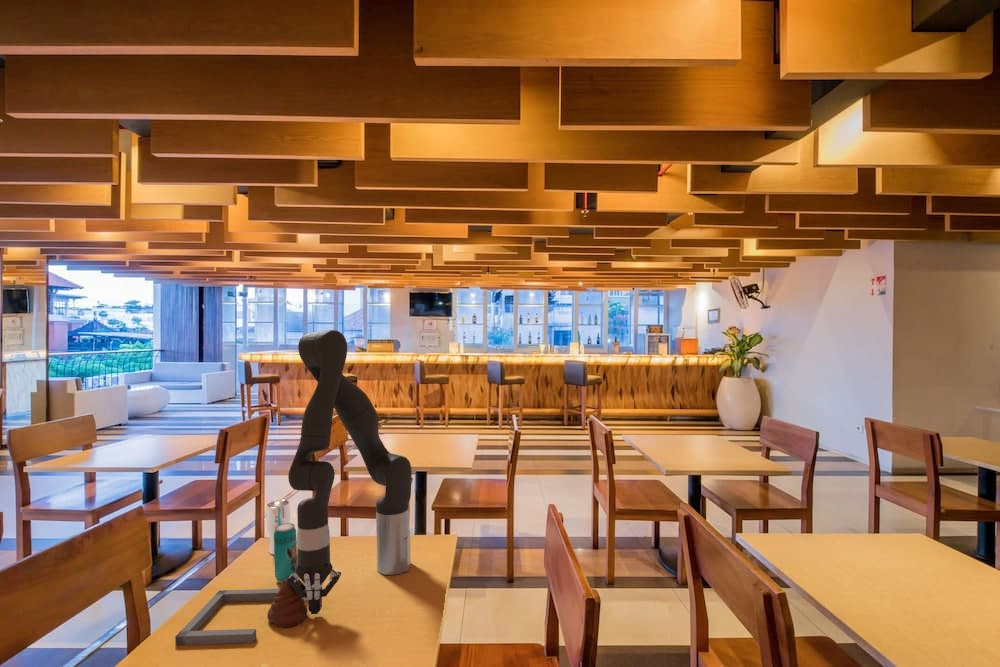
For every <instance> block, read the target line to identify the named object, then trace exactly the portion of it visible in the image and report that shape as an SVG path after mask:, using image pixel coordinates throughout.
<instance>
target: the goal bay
mask: <svg viewBox="0 0 1000 667" xmlns="http://www.w3.org/2000/svg"><path fill="white" fill-rule="evenodd" d="M279 590H280V588H266V589H264V588H263V589H262V588H260V589H259V588H258V589H257V588H256V589H234V590H233V589H231V590H230V589H228V590H218V592H216V593H215V594H214V595H213V596H212V598H210V599H209V601H208V602H207V603H206V604H205V605H204V606H203V607H202V608H201V609H200V610H199V611H198V612H197V613H196V614H195V615H194V616H193V617H192V618H191V619H190V621H188V623H187V624H185V626H184V627H182V629H181V630H180V631H179V632H178V633H177V634H176V635H175V639H174V641H175V642H174V644H175V646H193V645H194V646H195V645H198V646H201V645H226V644H251V643H252V644H253V643H254V641H255V640H256V638H257V629H256V628H242V629H241V628H240V629H237V628H236V629H213V630H212V629H210V630H209V629H208V630H207V629H206V630H200V629H201V628H202V627H203V626H204V624H205V623H206V622H207V621H208V620H209V619H210V618H211V616H213V614H214V613H215V612H217V610H218V609H219V608H220V606H222V604H223V603H230V602H231V603H233V602H235V603H237V602H264V601H266V602H269V601H274V598H275V596H276V593H277V592H278V591H279Z"/></svg>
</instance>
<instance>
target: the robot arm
mask: <svg viewBox="0 0 1000 667" xmlns="http://www.w3.org/2000/svg"><path fill="white" fill-rule="evenodd" d="M297 347H298V349H297V350H298V354H299V357H300V359H301V362H302V363H303V364H304V366H305V367H306V369H307V370H308V371H309V373H310V374H311V375H312V377H313V378H314V379H315V380H316V382H317V384H316V386H315V389H314V392H313V394H312V395H311V397H310V399H309V400H308V403H307V404H306V407H305V409H304V412H303V415H302V416H303V417H302V421H301V428H300V436H299V437H300V441H299V443H298V447H297V450H296V451H295V455H294V457H293V460H292V463H291V465H290V468H289V471H288V475H287V476H288V478H287V479H288V482H289V483H288V484H289V486H290V487H291V488H292V489H293V490H294V491H303V492H304V491H306V492H307V491H308V492H315V494H314V496H313V497H309V498H306V499H303V500H301V501H300V502H299V503H298V504H297V510H296V512H297V513H296V514H297V529H296V548H297V568H296V572H295V573H292V574H291V575H290V576H289V578H288V579H287V582H288V583H289V584H290V585H291V587H292V588H293V589H294V590H295V591H296V592H297V593H298V595H299V596H300V597H301V598H303V597H306V598H307V600H308V602H307V603H308V612H310V613H311V614H310V615H319V612H320V611H321V609H322V607H323V598H324V597H325V598H326V597H327V596H328V594H330V592H331V591H332V589H333V588H334V587H335V585H336V584H337V582H339V580H340V577H341V576H342V572H341V571H336V570H334V569H333V564H332V563H331V544H330V543H331V541H330V540H331V536H330V535H331V534H330V527H329V502H330V497H331V492H332V488H333V485H334V481H335V476H336V475H335V469H334V467H333V465H332V463H331V462H329V461H324V460H311V459H312V457H313V455H314V454H315V453H317V452H321V451H322V452H323V451H326V450H328V449H329V447H330V444H331V436H332V425H333V417H334V411H335V412H336V414H337V416H338V418H339V420H340V422H341V423H342V425H343V426H344V428H345V430H346V432H347V433H348V434H349V436H350V438H351V439H352V441H353V443H354V445H355V447H356V448H357V450H358V452H359V454H360V455H361V458H362V459H363V460H362V461H363V462H364V465H365V467H366V469H367V472H368V474H369V476H370V477H371V479H372V481H374V483H376V484H378V485H381V486H384V487H385V493H384V496H382V497H379V499H377V500H376V502H375V513H376V514H375V515H376V516H375V519H376V523H375V524H376V529H375V530H376V565H377V566H376V570H377V572H378V573H379V574H382V575H385V576H395V575H400V574H402V573H403V574H404V573H408V572H409V570H410V566H411V560H412V559H411V531H410V530H409V528H410V526H409V524H410V522H409V519H410V518H409V516H410V515H409V504H410V500H411V496H412V475H413V474H412V472H413V471H412V465H411V462H410V460H409V459H408V457H406V456H404V455H399V454H395V453H391V452H390V451H388V449H387V448H386V446H385V444H384V443H383V442H382V440H381V437H380V434H379V416H378V414H377V413H378V412H377V410H376V409H375V407H374V405H373V403H372V401H371V399H370V398H369V396H368V395H367V394H366V392H364V390H362V389H361V388H360V387H359V386H358V385H357V384H355V383H353V381H351V380H349V378H347V377H346V376H345V374H343V372H344V368H345V364H346V359H347V356H348V342H347V339H346V337H345V335H344V334H343V333H342V332H340V331H339V330H335V329H329V330H328V329H327V330H319V331H313V332H309V333H306V334H304V335H302V336H301V338H300V339H299V341H298V345H297ZM329 575H330V576H329ZM328 576H329V582H328V584H327V585H326V586H325V587H323V586H324V582H325V581H326V580H327V578H328Z"/></svg>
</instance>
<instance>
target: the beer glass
mask: <svg viewBox="0 0 1000 667" xmlns="http://www.w3.org/2000/svg"><path fill="white" fill-rule="evenodd" d="M265 519H266V527H267V531H268V532H267V533H268V536H269V548H268V553H269V554H270V555H274V532H275V527H276V526H278V525H280V524H285V523H291V505H290V501H289V500H287V499H278V500H273V501H270V502H268V503H267V504H266V518H265Z"/></svg>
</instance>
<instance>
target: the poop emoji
mask: <svg viewBox="0 0 1000 667" xmlns="http://www.w3.org/2000/svg"><path fill="white" fill-rule="evenodd" d="M279 589H280V590H279V591H278V592H277V593H276V596H275V598H274V600H272V602H271V604H270V607H269V609H268V611H267V619H268V621H269V622H270V623H271V624H275V625H276V626H278V627H282V628H291V627H293V626H297V625H299V624H300V623H302V622H303V621H305V620H306V618H307V615H308V608H307V605H306V602H307V600H308V598H306V597H303V598H301V597H300V596H299V595H298V593H297V592H296V591H295V590H294V589H293V588H292V587H291V585H290V584H289V583H288V582H287V579H284V580H283V581H282V583H281V586H280V588H279Z"/></svg>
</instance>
